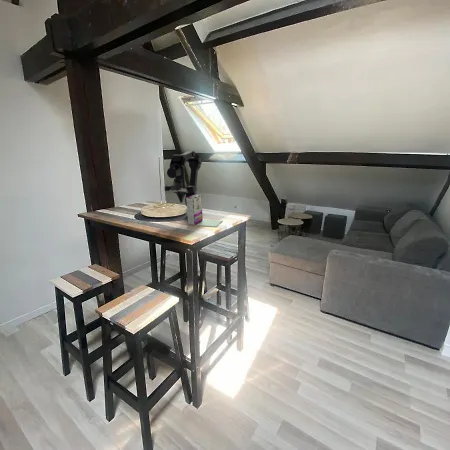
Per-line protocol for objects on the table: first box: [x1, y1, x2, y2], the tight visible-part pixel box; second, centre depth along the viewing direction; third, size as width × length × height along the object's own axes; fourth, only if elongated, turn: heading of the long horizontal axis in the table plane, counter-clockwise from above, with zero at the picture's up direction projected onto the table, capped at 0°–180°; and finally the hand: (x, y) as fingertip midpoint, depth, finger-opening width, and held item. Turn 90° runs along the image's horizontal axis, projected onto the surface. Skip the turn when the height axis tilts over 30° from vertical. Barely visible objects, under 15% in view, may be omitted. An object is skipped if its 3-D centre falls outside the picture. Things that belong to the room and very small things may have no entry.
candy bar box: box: [186, 194, 204, 226], centre depth 146 cm, size 11×5×16 cm, turn 160°
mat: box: [196, 218, 223, 228], centre depth 146 cm, size 12×13×1 cm
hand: (181, 202), depth 147 cm, fingers closed
